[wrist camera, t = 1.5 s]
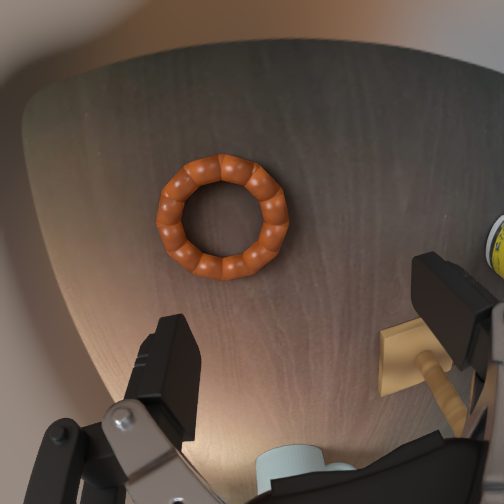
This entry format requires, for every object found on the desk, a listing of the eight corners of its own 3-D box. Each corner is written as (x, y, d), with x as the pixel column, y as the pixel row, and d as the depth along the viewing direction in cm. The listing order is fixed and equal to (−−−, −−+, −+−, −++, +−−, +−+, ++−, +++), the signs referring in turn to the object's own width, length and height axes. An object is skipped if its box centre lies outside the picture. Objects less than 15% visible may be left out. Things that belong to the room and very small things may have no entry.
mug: (258, 475, 37) (262, 532, 28) (252, 449, 33) (257, 517, 24) (348, 461, 37) (363, 515, 28) (358, 432, 34) (378, 496, 24)
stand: (379, 330, 26) (447, 461, 13) (459, 302, 25) (540, 403, 12) (377, 389, 30) (420, 499, 17) (446, 363, 29) (501, 456, 16)
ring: (144, 175, 19) (137, 180, 18) (270, 140, 19) (273, 142, 17) (183, 283, 23) (180, 295, 21) (296, 257, 22) (300, 267, 21)
